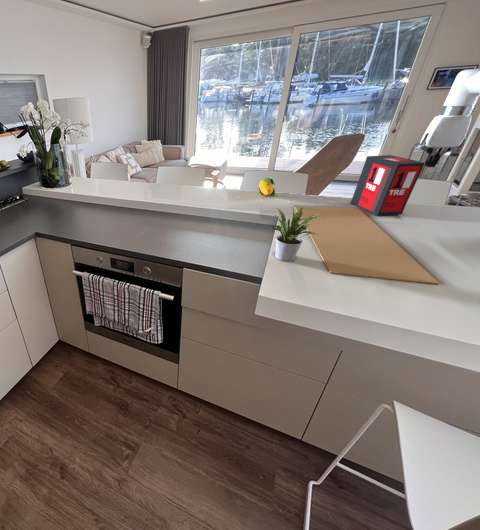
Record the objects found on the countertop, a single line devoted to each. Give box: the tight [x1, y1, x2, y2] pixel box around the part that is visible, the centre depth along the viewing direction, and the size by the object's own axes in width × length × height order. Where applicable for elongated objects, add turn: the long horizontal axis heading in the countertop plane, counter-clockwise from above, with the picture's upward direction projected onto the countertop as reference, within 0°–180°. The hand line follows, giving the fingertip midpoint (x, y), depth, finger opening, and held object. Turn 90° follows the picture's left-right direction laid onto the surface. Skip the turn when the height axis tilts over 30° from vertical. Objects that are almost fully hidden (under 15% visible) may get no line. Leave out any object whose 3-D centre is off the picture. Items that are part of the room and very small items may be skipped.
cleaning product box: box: [350, 154, 425, 217], centre depth 115 cm, size 16×9×20 cm, turn 176°
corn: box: [258, 177, 276, 197], centre depth 144 cm, size 7×8×20 cm
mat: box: [294, 205, 440, 285], centre depth 101 cm, size 24×58×1 cm, turn 161°
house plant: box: [270, 206, 324, 262], centre depth 85 cm, size 14×14×16 cm
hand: (429, 166), depth 108 cm, fingers closed
